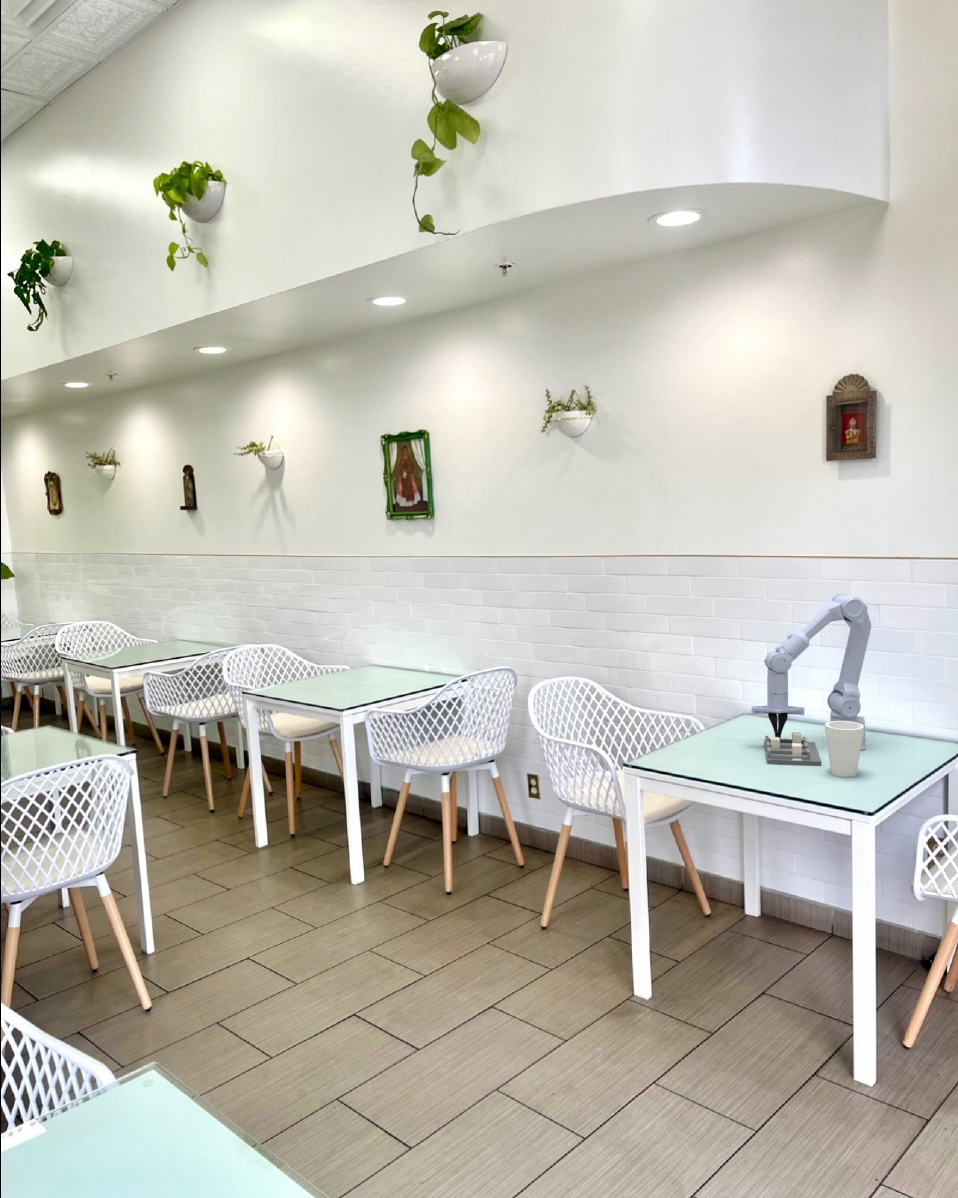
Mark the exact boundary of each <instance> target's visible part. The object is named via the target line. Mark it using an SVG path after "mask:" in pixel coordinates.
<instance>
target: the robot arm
mask: <svg viewBox="0 0 958 1198" xmlns="http://www.w3.org/2000/svg"><path fill="white" fill-rule="evenodd" d="M836 621H838V622H839V621H844V622H845V624H847V626H848V627H849V629H850V630H849V633H848V638H847V642H846V647H845V650H844V651H845V652H844V655H843V660H842V665H841V667H840V673H839V678H838V681H836V683H835V684H834V685H833V688H832V690H831V692H830V693H829V695H828V697H827V699H826V702H827V705H828V707H829V709H830V712H829V713H830V714H829V715H830V717H829V719H830V721H829V722H832V721H850V722H856V723H859V724H862V725H863V726H864V736H863V738H862V744H861V750H860V751H863V750H864V751H865V750H866V720H865V716H859V714H860V711H861V702H860V697H861V692H860V689H859V681H860V678H861V673H862V669H863V664H864V660H865V656H866V651H867V647H868V643H869V640H870V634H871V630H872V622H871V619H870V616H869V613H868V605H867V604H866V603H865V602H864V600H862V599H861V597H860V598H859V597H858V596H852V595H849V594H846V593H837V594H836V595H834V596H833V597H832V599H830V600H828V601H826V604H825V605H824V606H823V608H821V610H820V611H819V612H818V613H817V614H816V615H814V617H813V618H812V619H810V621H809V622H808V623H807V624H806V625H805V626H804V627H803V628H802V629H801V630H800V631H794V632H793V633H791V632H790V633H788V634H787V635H786V639H785V640H784V641H783V642H782V643H781V644H780V645H776V646H775V648H774V650H771V651H769V652H768V653H767V654H766V656H765V659H764V660H763V662H764V665H765V667H766V668H767V679H766V682H767V685H766V686H767V688H766V690H767V692H766V693H767V700H766V701H767V702H766V703H767V705H757V706H756V705H754V706H753V705H751V715H756V714H759V715H767V717H768V720H769V721H770V724H771V726H772V729H773V732H774V737H779V738H780V739H782V733H783V729H784V727H785V724H786V723H787V721H788V720H789V716H788V715H796V716H798V715H800V716H805V707H803V706H791V705H789V670H790V669H791V668H792V662H794V661H795V660H796V659H797V658H798V657H799V656H800V655H801V654H802V653H803V652H804V651H806V649H808V648H809V647H810V640H811V639H813V637H814V636H816V635H817V634H818V633H820V631H822V630H823V629H824V628H825V627H826V626H828V625H829V624H830V623H832V622H836Z"/></svg>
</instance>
